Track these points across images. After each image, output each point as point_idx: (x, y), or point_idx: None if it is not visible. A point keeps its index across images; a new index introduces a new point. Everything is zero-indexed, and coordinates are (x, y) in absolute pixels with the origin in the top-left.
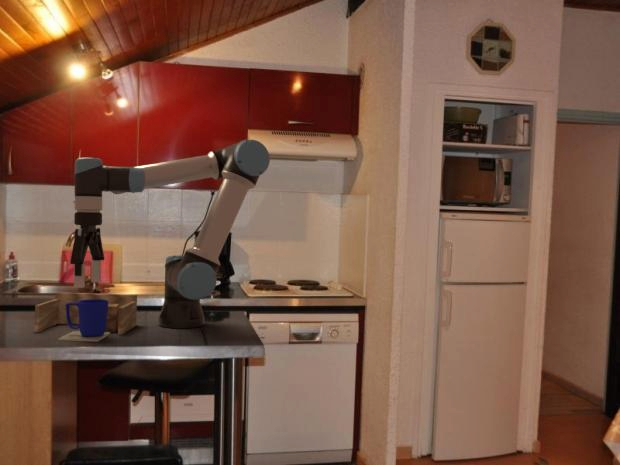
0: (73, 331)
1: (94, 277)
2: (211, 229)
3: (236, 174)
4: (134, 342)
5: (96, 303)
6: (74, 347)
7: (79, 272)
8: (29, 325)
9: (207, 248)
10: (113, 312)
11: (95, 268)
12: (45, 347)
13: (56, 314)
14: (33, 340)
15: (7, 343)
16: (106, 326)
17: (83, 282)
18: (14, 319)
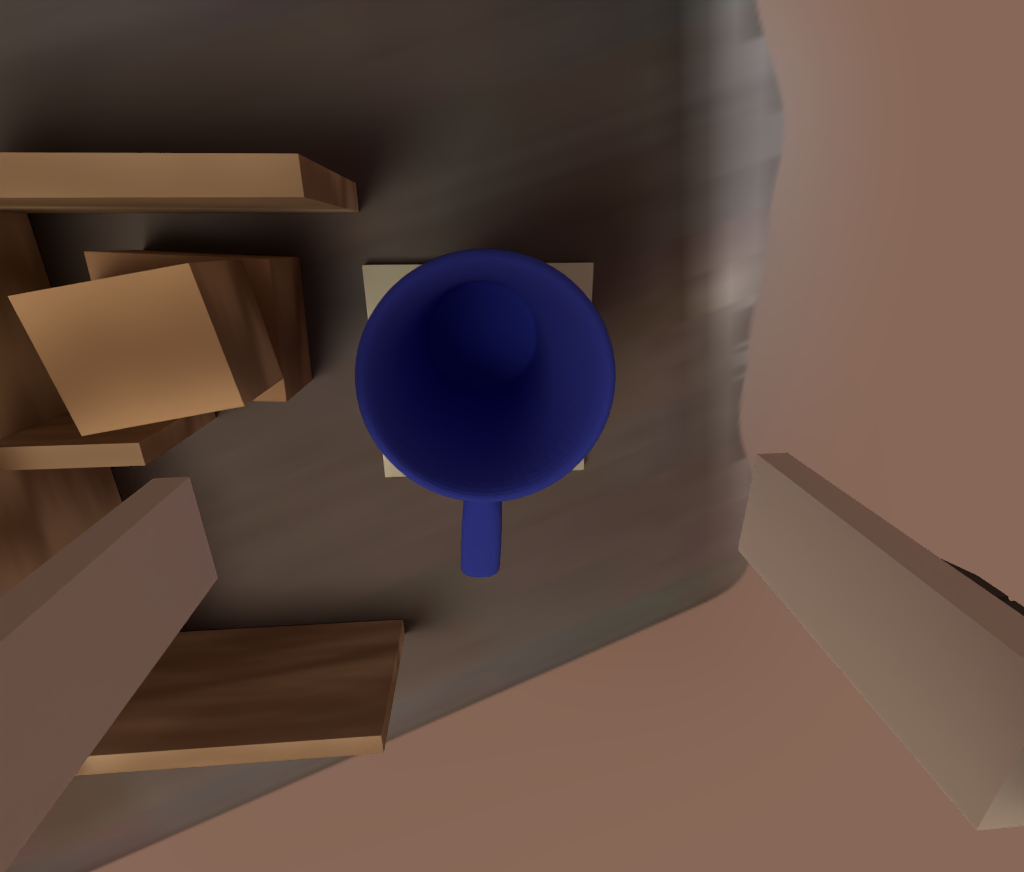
0: (396, 472)
1: (176, 582)
2: None
3: None
4: (591, 6)
5: (601, 319)
6: (735, 330)
7: (1003, 599)
8: None
9: None
10: (223, 283)
11: (69, 684)
12: (731, 455)
13: (162, 673)
14: (587, 561)
15: (653, 619)
16: (293, 316)
17: (826, 483)
18: (145, 817)
